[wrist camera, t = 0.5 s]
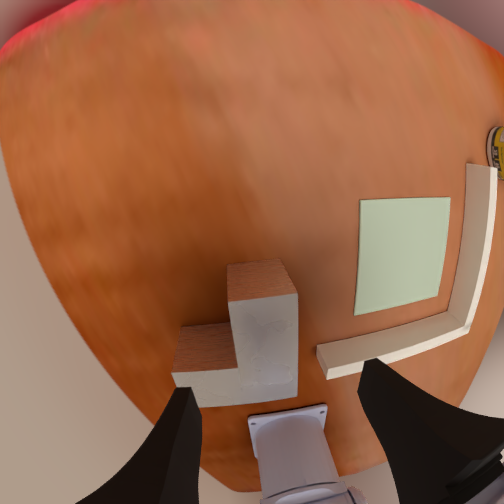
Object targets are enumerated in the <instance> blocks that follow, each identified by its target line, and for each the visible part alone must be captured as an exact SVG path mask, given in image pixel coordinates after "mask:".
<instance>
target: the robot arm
mask: <svg viewBox="0 0 504 504" xmlns="http://www.w3.org/2000/svg"><path fill="white" fill-rule="evenodd" d="M357 393H358V396H359V399H360V401H361V404H362V407H363V410H364V412H365V414H366V416H367V418H368V420H369V422H370V424H371V426H372V427H373V429H374V431H375V433H376V435H377V437H378V439H379V441H380V443H381V445H382V447H383V449H384V451H385V453H386V456H387V459H388V462H389V465H390V468H391V471H392V474H393V478H394V481H395V485H396V489H397V493H398V497H399V502H400V504H504V462H503V463H501V461H500V460H501V459H502V455H501V453H500V452H501V451H502V450H503V449H504V419H503V418H495V417H488V416H484V415H479V414H475V413H472V412H469V411H465V410H463V409H460V408H457V407H455V406H452V405H450V404H448V403H446V402H444V401H441V400H439V399H437V398H436V397H434V396H432V395H430V394H428V393H427V392H425V391H423V390H422V389H420V388H419V387H417V386H416V385H414V384H413V383H411V382H410V381H408V380H407V379H405V378H404V377H402V376H401V375H400V374H398V373H397V372H396V371H394V370H393V369H392V368H390V367H389V366H388V365H386V364H385V363H384V362H382V361H381V360H379V359H378V358H373V359H369V360H366V361H364V365H363V369H362V374H361V378H360V382H359V387H358V391H357ZM326 414H327V405H326V404H321V405H316V406H311V407H306V408H301V409H296V410H290V411H284V412H278V413H271V414H264V415H256V416H250V417H249V418H248V424H249V429H250V435H251V440H252V445H253V450H254V455H255V458H258V465H259V473H260V480H261V487H262V495H263V499H262V500H260V504H368V502H367V500H366V497H365V496H364V494H363V493H362V491H360V490H359V489H356V488H355V487H348V488H346V485H345V482H344V481H342V482H340V479H339V476H338V473H337V470H336V467H335V464H334V461H333V458H332V455H331V452H330V449H329V446H328V443H327V440H326V437H325V434H324V432H323V430H324V425H325V419H326ZM201 445H202V415H201V413H200V410H199V407H198V405H197V402H196V399H195V396H194V393H193V390H192V387H177V388H176V389H175V390H174V392H173V394H172V396H171V398H170V400H169V402H168V404H167V406H166V407H165V409H164V411H163V413H162V415H161V416H160V418H159V420H158V421H157V423H156V425H155V426H154V428H153V429H152V431H151V432H150V434H149V435H148V437H147V438H146V440H145V441H144V443H143V444H142V445H141V447H140V448H139V449H138V451H137V452H136V453H135V454H134V455H133V457H132V458H131V459H130V460H129V461H128V462H127V463H126V464H125V465H124V466H123V467H122V468H121V470H119V472H117V474H115V475H114V476H113V477H112V478H111V479H110V480H108V481H107V482H106V483H105V484H103V485H102V486H101V487H100V488H99V489H97V490H96V491H94V492H93V493H92V494H90V495H88V496H87V497H85V498H84V499H82V500H80V501H79V502H77V503H75V504H199V497H198V477H199V466H200V455H201Z"/></svg>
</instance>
